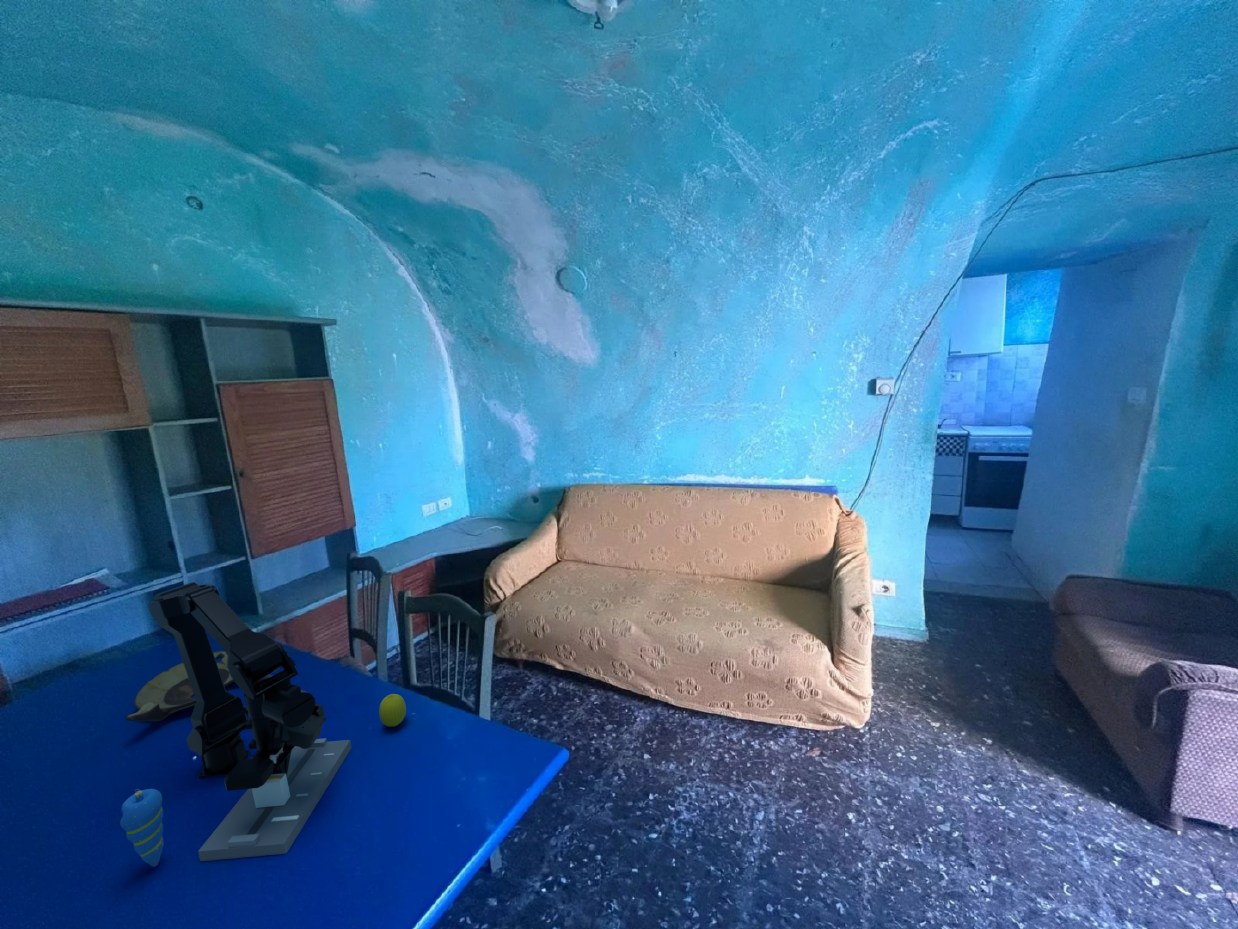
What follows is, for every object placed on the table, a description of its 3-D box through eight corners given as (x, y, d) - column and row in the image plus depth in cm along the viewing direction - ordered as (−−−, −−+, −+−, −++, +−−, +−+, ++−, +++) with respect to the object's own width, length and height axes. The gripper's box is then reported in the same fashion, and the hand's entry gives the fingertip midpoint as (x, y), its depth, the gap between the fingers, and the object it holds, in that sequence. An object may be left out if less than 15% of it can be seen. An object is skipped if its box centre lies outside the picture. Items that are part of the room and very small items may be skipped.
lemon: (398, 736, 112) (393, 704, 110) (376, 733, 113) (371, 701, 111) (413, 718, 117) (408, 688, 115) (392, 716, 118) (387, 686, 116)
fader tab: (255, 807, 92) (250, 783, 91) (262, 798, 94) (257, 774, 93) (284, 805, 92) (279, 781, 91) (290, 796, 94) (285, 772, 93)
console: (200, 861, 84) (196, 846, 84) (284, 753, 108) (282, 741, 107) (286, 853, 85) (283, 838, 84) (351, 748, 109) (349, 735, 108)
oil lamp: (274, 671, 139) (269, 646, 137) (148, 751, 110) (140, 721, 109) (214, 661, 145) (208, 637, 143) (80, 735, 116) (72, 706, 115)
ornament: (153, 852, 86) (133, 777, 83) (185, 849, 87) (166, 774, 84) (127, 882, 81) (104, 804, 78) (160, 879, 82) (139, 800, 79)
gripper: (283, 743, 84) (298, 821, 87) (336, 675, 102) (348, 742, 105) (213, 748, 83) (232, 827, 86) (280, 679, 102) (293, 746, 105)
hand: (282, 781), depth 96 cm, fingers closed
